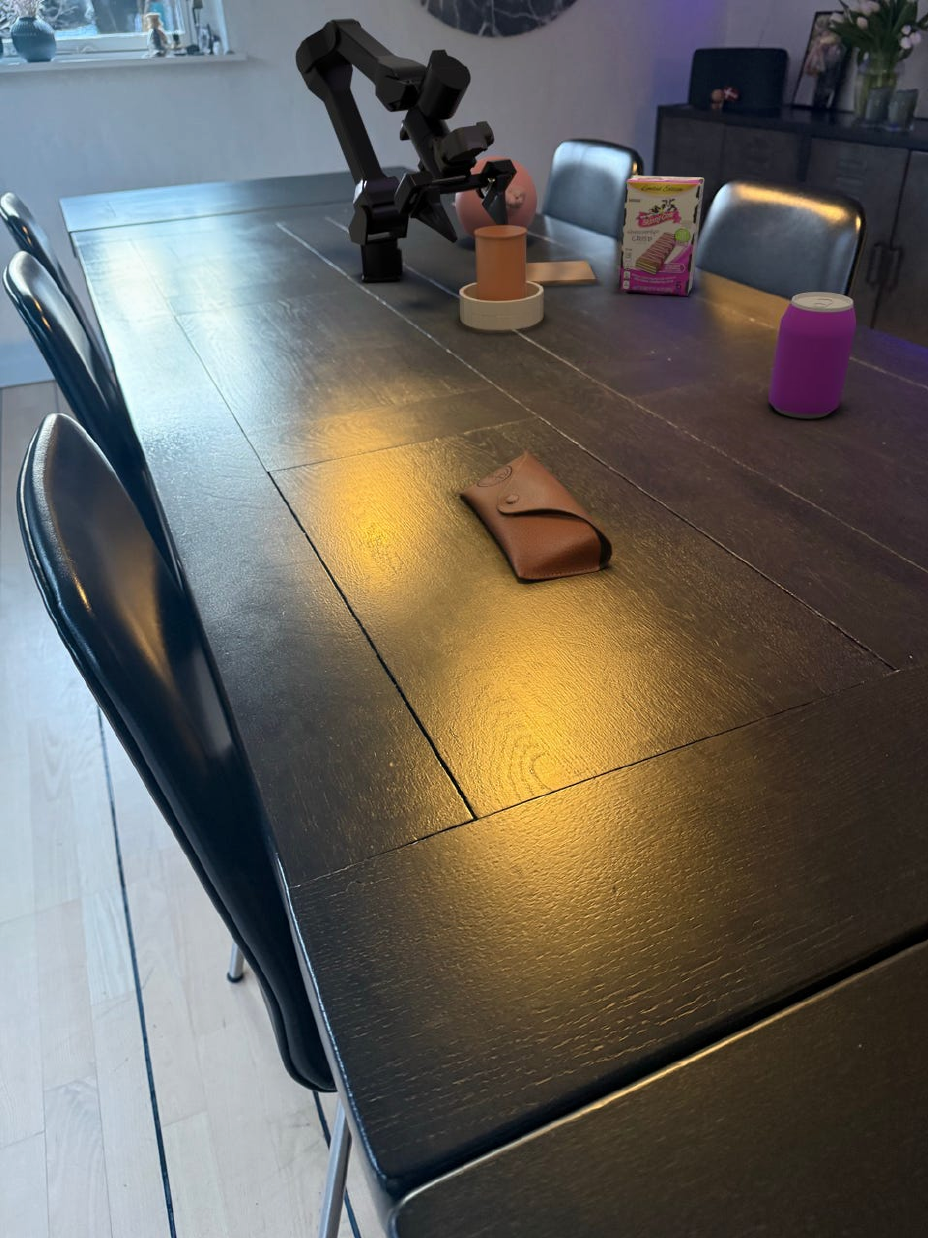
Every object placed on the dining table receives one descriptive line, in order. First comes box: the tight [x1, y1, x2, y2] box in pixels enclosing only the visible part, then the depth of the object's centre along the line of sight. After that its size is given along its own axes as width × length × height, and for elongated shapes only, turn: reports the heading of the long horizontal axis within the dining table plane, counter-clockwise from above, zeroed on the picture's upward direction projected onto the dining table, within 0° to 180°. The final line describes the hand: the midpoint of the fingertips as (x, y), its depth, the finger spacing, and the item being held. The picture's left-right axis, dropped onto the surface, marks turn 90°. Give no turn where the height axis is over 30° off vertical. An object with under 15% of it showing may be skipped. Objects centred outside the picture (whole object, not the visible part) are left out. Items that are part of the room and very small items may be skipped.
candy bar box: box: [618, 175, 705, 297], centre depth 138 cm, size 11×5×16 cm, turn 71°
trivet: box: [526, 260, 596, 285], centre depth 152 cm, size 12×12×1 cm
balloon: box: [454, 155, 538, 241], centre depth 167 cm, size 15×20×15 cm
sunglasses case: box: [458, 448, 613, 581], centre depth 80 cm, size 18×7×7 cm, turn 19°
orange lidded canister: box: [474, 225, 528, 301], centre depth 129 cm, size 7×7×12 cm
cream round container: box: [459, 281, 545, 331], centre depth 132 cm, size 12×12×4 cm
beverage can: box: [768, 291, 857, 419], centre depth 98 cm, size 8×8×12 cm
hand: (481, 235), depth 130 cm, fingers open, 9 cm apart
